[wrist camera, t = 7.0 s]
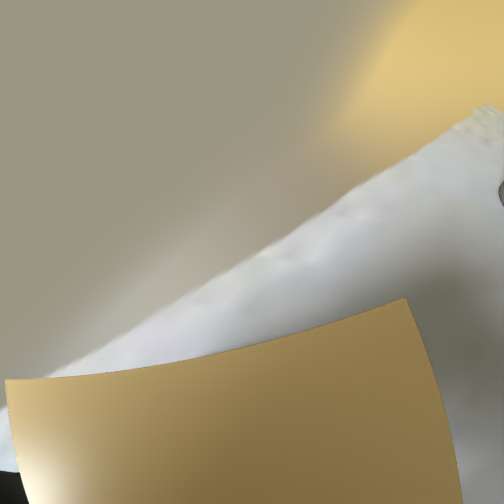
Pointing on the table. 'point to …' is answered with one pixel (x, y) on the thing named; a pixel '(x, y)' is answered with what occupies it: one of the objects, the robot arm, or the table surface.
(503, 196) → the flask
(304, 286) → the table surface
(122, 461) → the plug
